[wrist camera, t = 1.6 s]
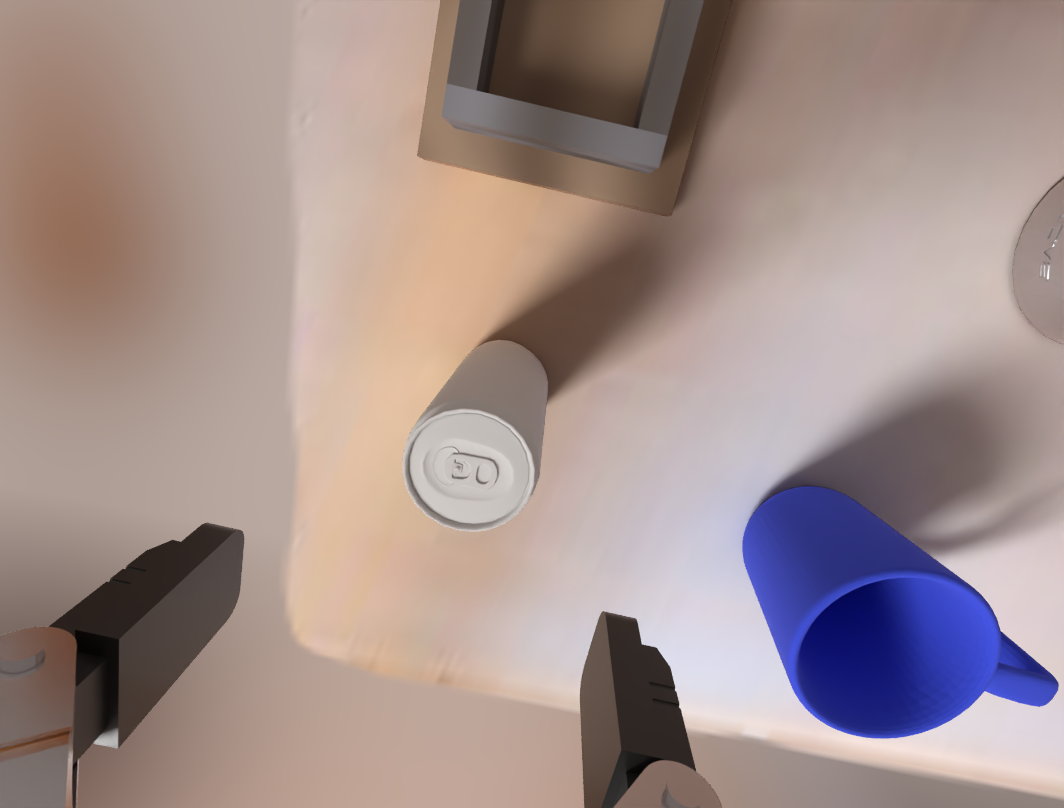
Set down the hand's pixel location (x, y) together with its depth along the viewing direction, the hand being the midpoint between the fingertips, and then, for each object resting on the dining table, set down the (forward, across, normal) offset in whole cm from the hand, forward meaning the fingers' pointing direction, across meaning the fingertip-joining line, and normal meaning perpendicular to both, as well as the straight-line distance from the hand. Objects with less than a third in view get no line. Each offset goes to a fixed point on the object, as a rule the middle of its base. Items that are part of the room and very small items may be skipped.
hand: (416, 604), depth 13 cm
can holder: (+19, 0, -16) cm, 25 cm away
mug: (+19, -20, +5) cm, 28 cm away
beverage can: (+19, 0, 0) cm, 19 cm away
